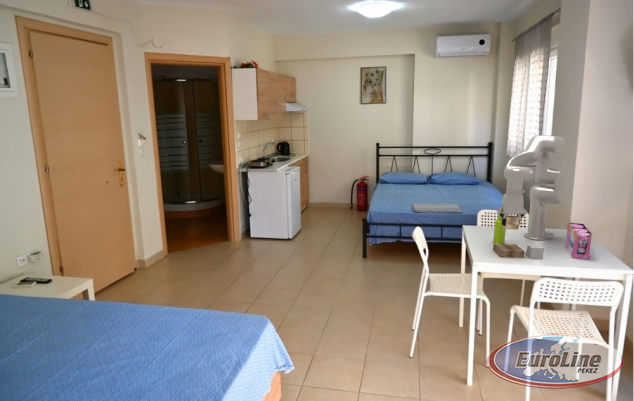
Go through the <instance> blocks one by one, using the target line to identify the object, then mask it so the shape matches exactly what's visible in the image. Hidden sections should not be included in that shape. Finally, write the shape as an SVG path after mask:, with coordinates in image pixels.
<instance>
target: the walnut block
mask: <svg viewBox="0 0 634 401" xmlns="http://www.w3.org/2000/svg"><path fill="white" fill-rule="evenodd" d="M493 250H494V251H495V252H494V251H493ZM492 251H493V252H494V253H495V254H496V255H497V256H498V257H499V258H507V259H508V258H509V259H513V258H514V259H524V258H525V253H526V252H525V250H524V249H522V248H521V247H520V246H519V245H518V244H516V243H515V244H514V243H513V244H512V243H504V244H496V243H493V247H492Z"/></svg>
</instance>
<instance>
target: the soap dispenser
mask: <svg viewBox="0 0 634 401" xmlns="http://www.w3.org/2000/svg"><path fill="white" fill-rule="evenodd" d="M501 213H502V214H503V212H502V211H501ZM506 230H507V229H506V228H504V227H503V225H502V217H501V216H500V215H499V214H498V213H497V219H495V221H494V230H493V240H492V242H493V244H496V243H497V244H505V238H506Z"/></svg>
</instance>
